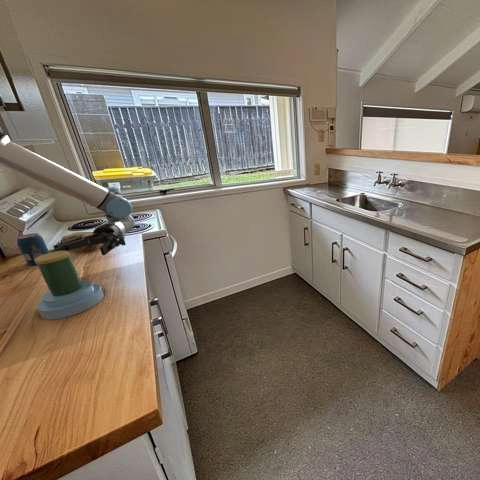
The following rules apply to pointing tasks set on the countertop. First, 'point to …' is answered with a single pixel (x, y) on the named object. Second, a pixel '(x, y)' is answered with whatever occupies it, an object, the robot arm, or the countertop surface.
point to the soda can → (32, 247)
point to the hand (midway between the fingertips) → (76, 254)
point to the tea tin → (59, 273)
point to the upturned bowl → (70, 301)
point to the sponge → (77, 234)
